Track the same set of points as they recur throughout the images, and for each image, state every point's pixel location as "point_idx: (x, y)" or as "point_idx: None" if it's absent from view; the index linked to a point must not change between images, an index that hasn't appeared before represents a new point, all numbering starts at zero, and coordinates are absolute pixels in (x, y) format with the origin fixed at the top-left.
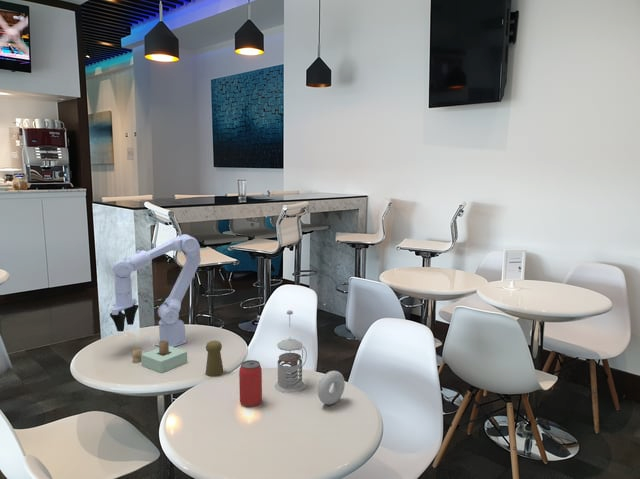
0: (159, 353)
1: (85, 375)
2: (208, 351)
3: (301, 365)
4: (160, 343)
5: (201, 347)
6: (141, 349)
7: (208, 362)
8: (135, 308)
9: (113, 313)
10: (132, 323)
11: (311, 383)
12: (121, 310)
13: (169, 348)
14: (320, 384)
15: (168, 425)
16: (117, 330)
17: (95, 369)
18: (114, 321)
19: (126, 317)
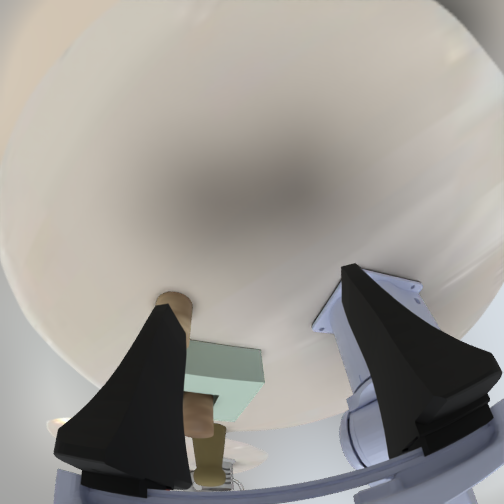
0: (185, 397)
1: (3, 231)
2: (194, 471)
3: (219, 488)
4: (184, 432)
5: (341, 374)
6: (187, 347)
7: (194, 450)
8: (387, 446)
9: (66, 484)
10: (345, 309)
11: (232, 465)
12: (185, 501)
13: (238, 396)
14: (184, 490)
15: (59, 419)
16: (151, 314)
17: (38, 223)
18: (110, 387)
19: (371, 311)
